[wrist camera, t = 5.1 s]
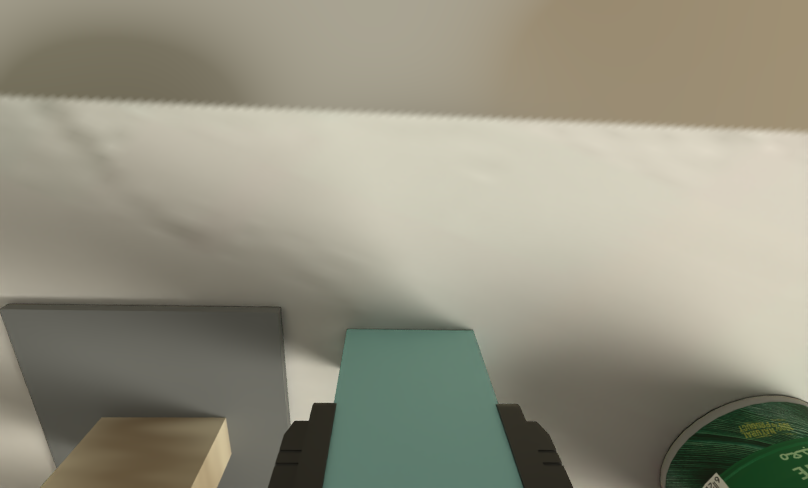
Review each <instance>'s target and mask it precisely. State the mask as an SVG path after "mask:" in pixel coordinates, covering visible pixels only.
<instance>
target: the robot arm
mask: <svg viewBox="0 0 808 488" xmlns="http://www.w3.org/2000/svg"><path fill="white" fill-rule="evenodd" d="M336 404H337V403H314V404H313V406H312V410H311V414H310V418H309V421H294V423H293V424H292V425H291V426H290V428H289V429H288V430H287V431H286V432H285V434H284V436H283V439H282V442H281V446H280V449H279V453H278V456H277V459H276V462H275V466H274V469H273V472H272V475H271V479H270V482H269V485H268V488H323V482H324V476H325V470H326V464H327V458H328V452H329V446H330V440H331V434H332V428H333V422H334V416H335V410H336ZM496 407H497V410H498V413H499V416H500V419H501V422H502V425H503V428H504V431H505V434H506V437H507V440H508V443H509V446H510V449H511V452H512V455H513V458H514V461H515V464H516V467H517V470H518V473H519V476H520V479H521V482H522V485H523V488H573V486H572V484H571V482H570V480H569V477H568V475H567V473H566V471H565V469H564V466H562V462H561V460H560V458H559V455H558V453H556V449H555V447H554V444H553V442H552V440H551V438H550V436H549V434H548V433H547V432H546V431H545V430H544V429H543V428H542V427H541V426H540V425H539V424H538V423H537V422H526V420H525V418H524V415H523V413H522V410H521V408H520V406H519V405H518V404H496Z"/></svg>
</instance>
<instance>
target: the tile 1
mask: <svg viewBox="0 0 808 488" xmlns="http://www.w3.org/2000/svg"><path fill="white" fill-rule="evenodd" d="M230 456H231V447H230V441H229V434H228V428H227V421H226V418H179V417H101V419H100V420H99V421H98V422H97V423H96V424H95V425H94V427H93V428H92V429H91V430H90V431H89V432H88V433H87V435H86V436H85V437H84V438H83V439H82V440H81V441H80V443H79V444H78V445H77V446H76V447H75V448H74V450H73V451H72V452H71V453H70V454H69V455H68V456H67V458H66V459H65V460H64V461H63V462H62V463H61V464H60V466H59V467H58V468H57V469H56V470H55V471H54V472H53V474H52V475H51V476H50V477H49V478H48V479H47V480H46V482H45V483H44V484H43V485H42V486H41V487H40V488H217V486H218V484H219V482H220V479H221V477H222V475H223V473H224V470H225V468H226V466H227V463H228V461H229V459H230Z"/></svg>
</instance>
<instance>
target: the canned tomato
mask: <svg viewBox="0 0 808 488" xmlns="http://www.w3.org/2000/svg"><path fill="white" fill-rule="evenodd" d="M660 482H661V487H662V488H808V403H806V402H804V401H801V400H799V399H797V398H791V397H786V396H758V397H751V398H745V399H742V400H739V401H735V402H732V403H729V404H726V405H724V406H722V407H720V408H717V409H715V410H713V411H711V412H709V413H708V414H706V415H705V416H703V417H701V418H700V419H698V420H697V421H695V422H694V423H693V424H692V425H691V426H689V427H688V428H687V429H686V430H685V431H683V433H682V434H681V435H680V436H679V437H678V438H677V439H676V441H675V442H674V443H673V444H672V446H671V448H670V449H669V451H668V453H667V454H666V456H665V459H664V462H663V465H662V468H661V476H660Z"/></svg>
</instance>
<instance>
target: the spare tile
mask: <svg viewBox="0 0 808 488" xmlns="http://www.w3.org/2000/svg"><path fill="white" fill-rule="evenodd" d="M334 403H337V404H336V410H335V416H334V422H333V428H332V434H331V440H330V446H329V452H328V458H327V464H326V470H325V476H324V482H323V488H523V485H522V482H521V479H520V476H519V473H518V470H517V467H516V464H515V461H514V458H513V455H512V452H511V449H510V446H509V443H508V440H507V437H506V434H505V431H504V428H503V425H502V422H501V419H500V416H499V413H498V410H497V407H496V404H498V402H497V399H496V396H495V393H494V390H493V387H492V384H491V381H490V378H489V375H488V373H487V370H486V367H485V364H484V361H483V358H482V355H481V352H480V349H479V346H478V343H477V340H476V337H475V334H474V331H473V330H385V329H347V332H346V338H345V344H344V349H343V355H342V360H341V366H340V372H339V377H338V383H337V389H336V394H335V400H334Z"/></svg>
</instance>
